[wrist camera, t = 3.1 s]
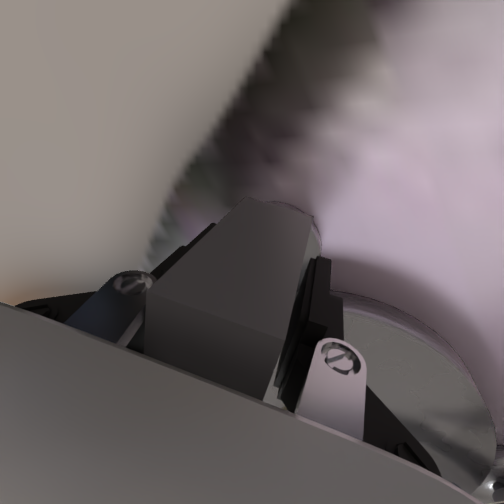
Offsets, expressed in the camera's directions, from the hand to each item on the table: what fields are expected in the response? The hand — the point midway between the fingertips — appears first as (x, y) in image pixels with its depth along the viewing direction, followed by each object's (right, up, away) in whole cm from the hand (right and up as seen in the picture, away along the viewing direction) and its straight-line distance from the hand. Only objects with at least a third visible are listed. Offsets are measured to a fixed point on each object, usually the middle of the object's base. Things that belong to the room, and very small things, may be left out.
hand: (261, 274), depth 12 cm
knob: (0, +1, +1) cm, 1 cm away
